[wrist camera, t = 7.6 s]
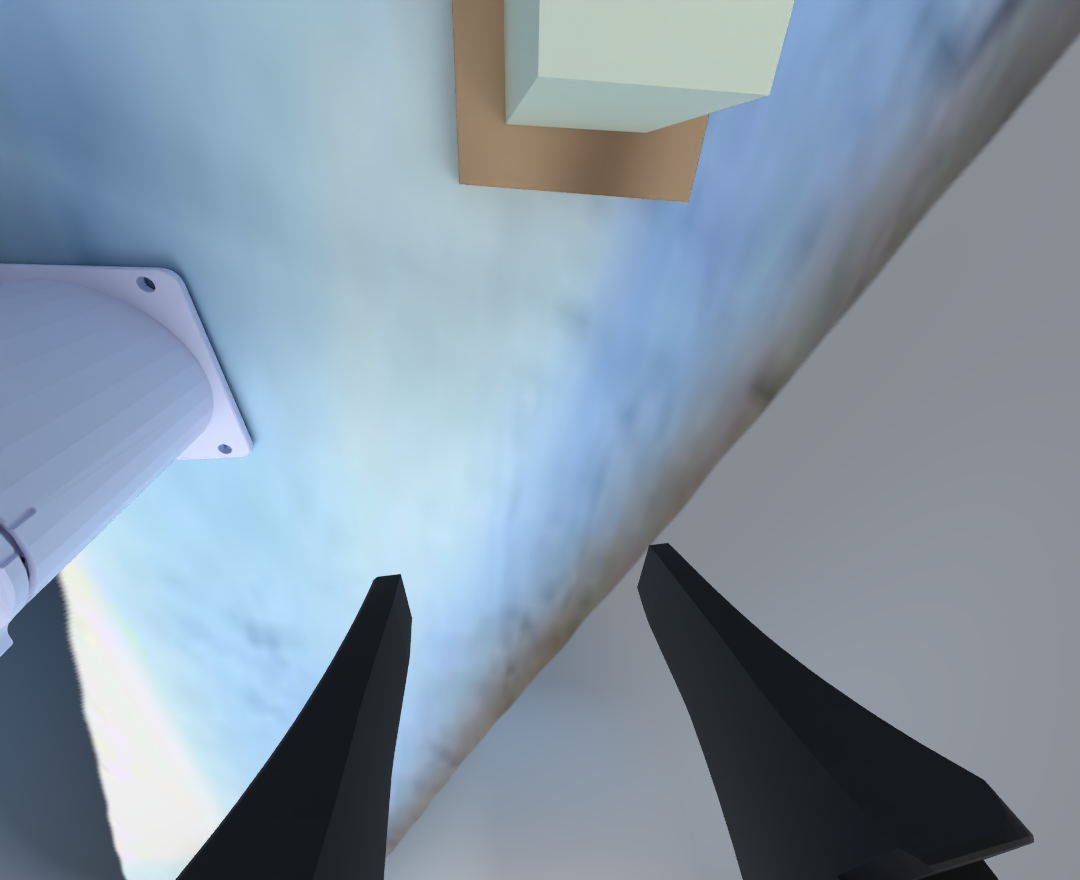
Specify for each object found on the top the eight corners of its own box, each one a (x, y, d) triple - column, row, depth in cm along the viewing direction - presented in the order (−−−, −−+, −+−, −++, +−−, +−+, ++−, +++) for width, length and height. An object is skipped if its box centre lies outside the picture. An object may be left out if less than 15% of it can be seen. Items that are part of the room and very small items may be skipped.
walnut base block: (459, 183, 14) (459, 183, 12) (445, -188, 10) (440, -284, 8) (659, 199, 16) (688, 202, 14) (723, -120, 11) (780, -187, 9)
